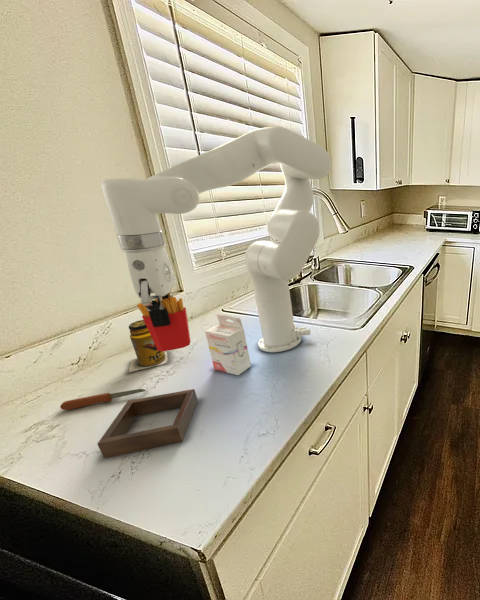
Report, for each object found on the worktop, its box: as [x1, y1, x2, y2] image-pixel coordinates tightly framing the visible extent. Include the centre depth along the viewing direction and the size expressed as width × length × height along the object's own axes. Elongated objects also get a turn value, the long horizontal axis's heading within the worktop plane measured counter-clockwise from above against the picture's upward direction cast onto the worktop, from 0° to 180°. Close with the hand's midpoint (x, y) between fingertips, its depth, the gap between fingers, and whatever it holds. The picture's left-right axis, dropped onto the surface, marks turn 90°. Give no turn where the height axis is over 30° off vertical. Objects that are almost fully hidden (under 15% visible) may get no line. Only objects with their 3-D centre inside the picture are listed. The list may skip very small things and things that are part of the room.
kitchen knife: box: [59, 388, 147, 411], centre depth 75 cm, size 16×1×2 cm, turn 111°
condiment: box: [128, 319, 168, 373], centre depth 89 cm, size 7×8×12 cm
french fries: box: [136, 296, 191, 352], centre depth 74 cm, size 8×4×12 cm, turn 115°
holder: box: [97, 388, 199, 459], centre depth 67 cm, size 13×13×4 cm
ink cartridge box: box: [204, 313, 252, 376], centre depth 85 cm, size 9×5×15 cm, turn 71°
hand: (165, 320), depth 74 cm, fingers closed on french fries, 4 cm apart
